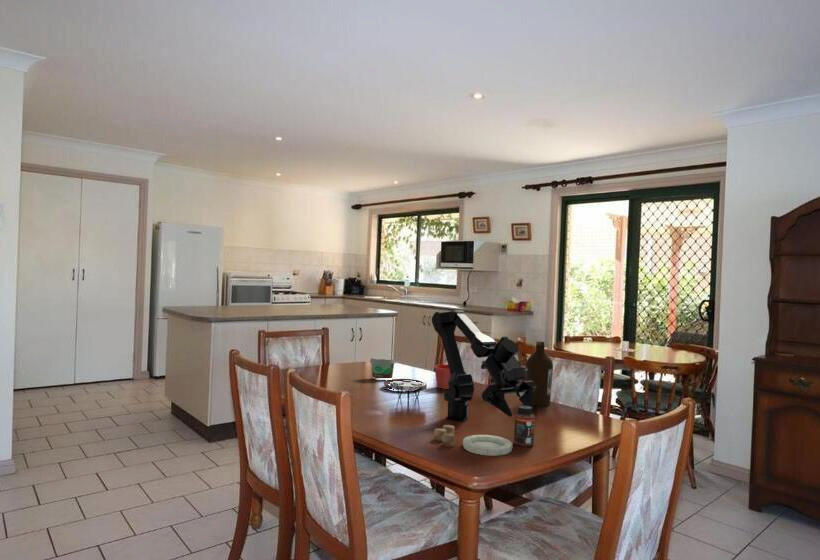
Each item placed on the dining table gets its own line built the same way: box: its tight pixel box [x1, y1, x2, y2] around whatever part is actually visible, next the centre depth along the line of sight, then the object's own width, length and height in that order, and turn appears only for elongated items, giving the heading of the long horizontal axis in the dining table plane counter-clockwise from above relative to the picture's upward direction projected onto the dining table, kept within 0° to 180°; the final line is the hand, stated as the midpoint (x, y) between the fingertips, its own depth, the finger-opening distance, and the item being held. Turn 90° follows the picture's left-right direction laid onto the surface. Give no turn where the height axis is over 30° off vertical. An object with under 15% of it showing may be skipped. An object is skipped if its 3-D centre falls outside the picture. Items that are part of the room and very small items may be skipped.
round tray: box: [462, 434, 513, 457], centre depth 161 cm, size 14×14×2 cm
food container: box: [369, 356, 396, 379], centre depth 259 cm, size 12×6×10 cm, turn 81°
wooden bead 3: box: [442, 433, 456, 448], centre depth 162 cm, size 4×4×3 cm
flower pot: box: [434, 364, 451, 390], centre depth 245 cm, size 11×11×10 cm
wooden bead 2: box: [442, 424, 455, 435], centre depth 171 cm, size 4×4×3 cm
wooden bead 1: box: [433, 427, 446, 442], centre depth 167 cm, size 4×4×3 cm
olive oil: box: [525, 340, 554, 407], centre depth 221 cm, size 11×11×25 cm
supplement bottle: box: [513, 405, 536, 447], centre depth 165 cm, size 6×6×11 cm
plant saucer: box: [382, 378, 425, 390], centre depth 240 cm, size 18×18×3 cm
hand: (522, 414), depth 166 cm, fingers open, 9 cm apart
